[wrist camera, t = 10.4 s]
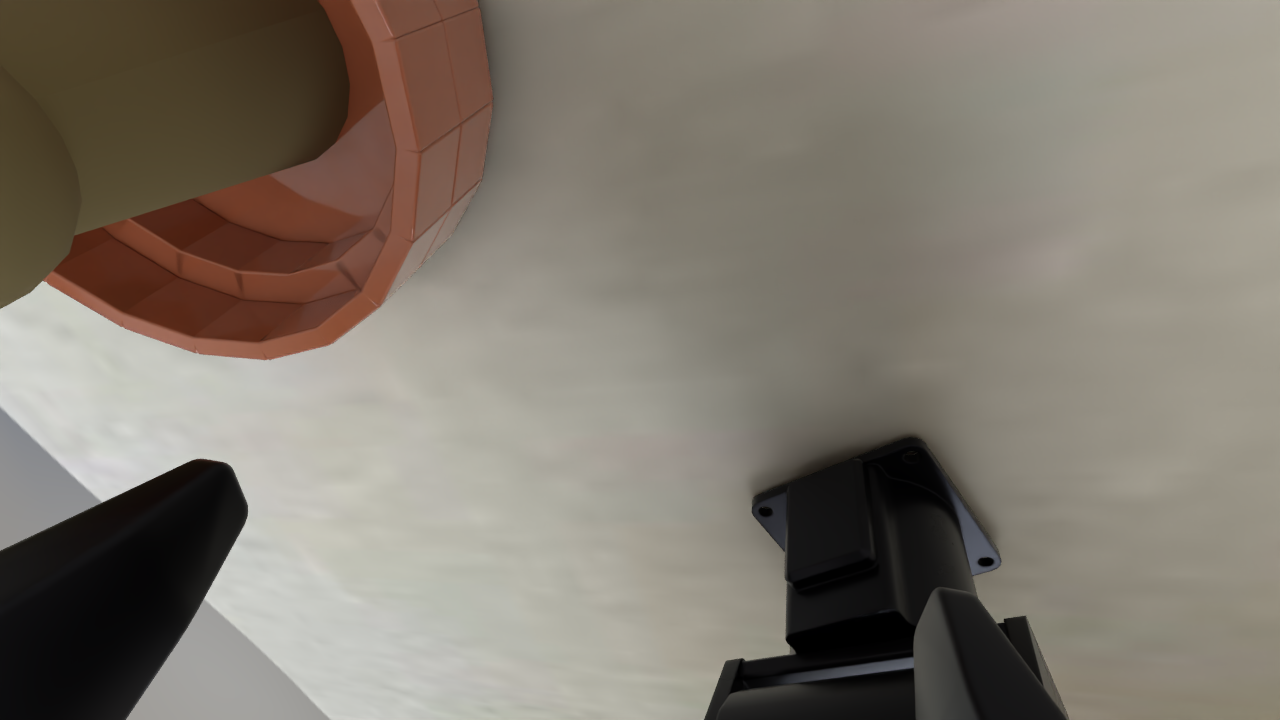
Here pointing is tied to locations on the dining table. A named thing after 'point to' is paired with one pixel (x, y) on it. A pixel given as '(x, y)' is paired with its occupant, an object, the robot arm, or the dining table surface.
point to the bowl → (313, 203)
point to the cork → (150, 111)
